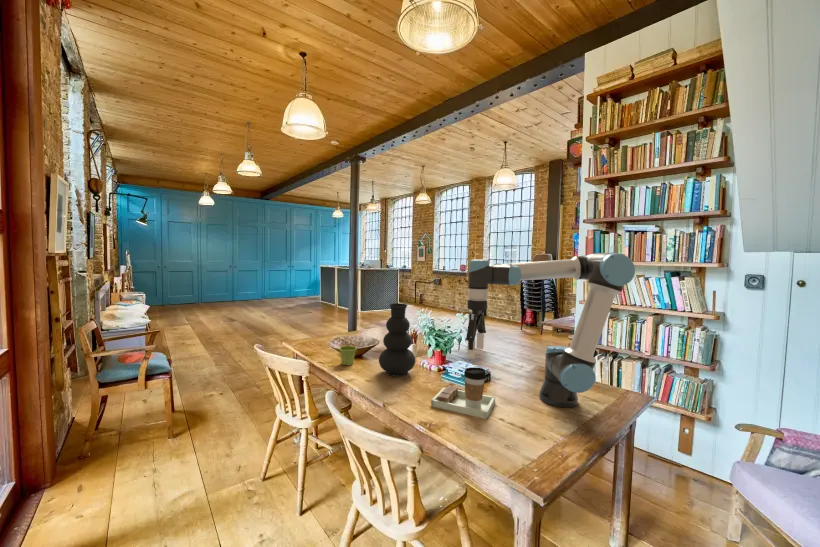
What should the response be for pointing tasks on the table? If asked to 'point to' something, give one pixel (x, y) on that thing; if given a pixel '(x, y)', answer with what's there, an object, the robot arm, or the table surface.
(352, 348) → the plant pot
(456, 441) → the table surface
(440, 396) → the walnut block
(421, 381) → the table surface
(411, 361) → the vase
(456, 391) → the walnut block
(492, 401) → the tray
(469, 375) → the coffee cup
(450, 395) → the walnut block
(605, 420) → the table surface
